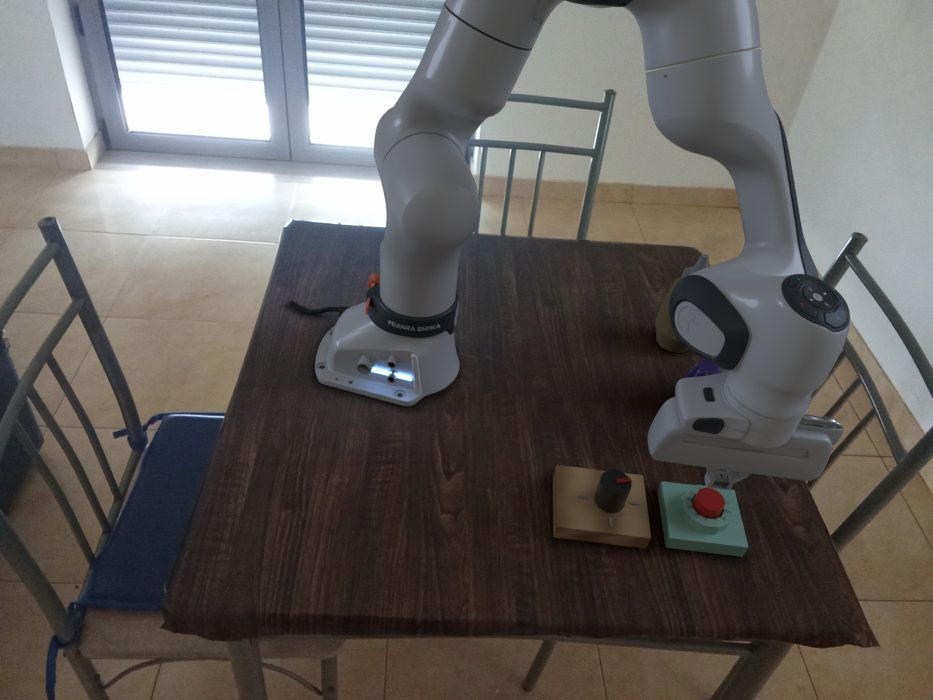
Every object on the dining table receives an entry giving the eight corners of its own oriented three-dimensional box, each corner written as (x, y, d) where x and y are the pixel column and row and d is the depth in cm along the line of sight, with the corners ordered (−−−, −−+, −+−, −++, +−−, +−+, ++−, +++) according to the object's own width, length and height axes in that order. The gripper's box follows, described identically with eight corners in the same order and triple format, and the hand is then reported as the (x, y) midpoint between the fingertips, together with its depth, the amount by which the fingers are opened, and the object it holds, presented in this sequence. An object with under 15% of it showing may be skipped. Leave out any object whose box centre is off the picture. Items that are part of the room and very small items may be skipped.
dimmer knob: (598, 514, 92) (605, 493, 89) (591, 488, 94) (597, 468, 92) (628, 512, 92) (636, 492, 89) (620, 487, 95) (627, 467, 92)
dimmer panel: (553, 537, 91) (556, 526, 90) (552, 475, 99) (556, 463, 97) (646, 549, 91) (651, 537, 89) (638, 486, 99) (643, 474, 97)
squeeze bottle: (655, 357, 119) (686, 269, 107) (644, 326, 125) (673, 239, 113) (702, 359, 120) (738, 272, 108) (689, 328, 126) (722, 242, 114)
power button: (695, 516, 91) (699, 508, 90) (690, 494, 94) (694, 485, 93) (723, 520, 91) (727, 512, 90) (718, 497, 94) (722, 489, 93)
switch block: (665, 547, 92) (673, 530, 89) (657, 491, 98) (664, 473, 96) (742, 557, 92) (753, 539, 89) (729, 499, 98) (738, 482, 96)
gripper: (841, 401, 82) (793, 476, 91) (664, 377, 82) (634, 454, 91) (859, 442, 77) (806, 517, 86) (671, 417, 77) (638, 494, 86)
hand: (716, 484), depth 89 cm, fingers closed
